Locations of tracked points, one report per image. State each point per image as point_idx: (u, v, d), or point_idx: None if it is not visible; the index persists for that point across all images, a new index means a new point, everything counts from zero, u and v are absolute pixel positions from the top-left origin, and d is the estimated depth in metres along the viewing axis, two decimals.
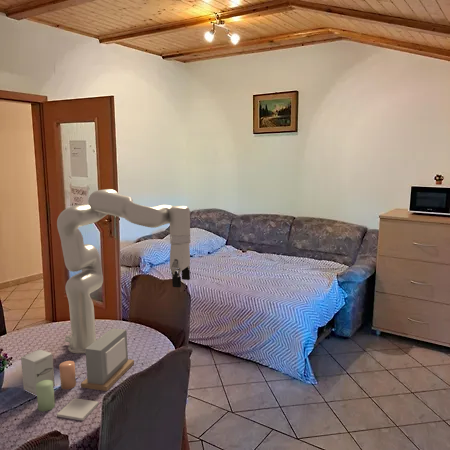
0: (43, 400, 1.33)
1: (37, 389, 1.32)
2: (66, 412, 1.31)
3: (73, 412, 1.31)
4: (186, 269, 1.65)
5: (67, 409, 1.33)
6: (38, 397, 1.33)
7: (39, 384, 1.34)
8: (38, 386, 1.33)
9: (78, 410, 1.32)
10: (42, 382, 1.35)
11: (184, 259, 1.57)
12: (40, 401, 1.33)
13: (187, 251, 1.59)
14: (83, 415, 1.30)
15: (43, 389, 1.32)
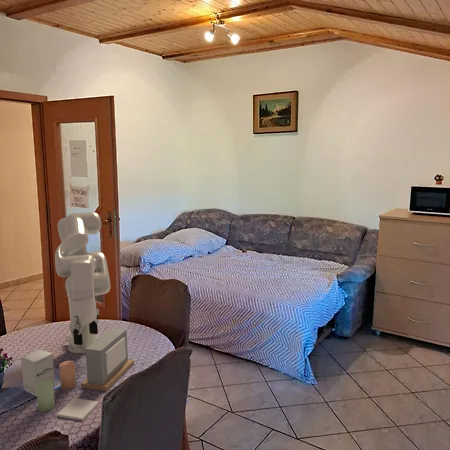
0: (43, 400, 1.33)
1: (37, 389, 1.32)
2: (66, 412, 1.31)
3: (73, 412, 1.31)
4: (93, 323, 1.59)
5: (67, 409, 1.33)
6: (38, 397, 1.33)
7: (39, 384, 1.34)
8: (38, 386, 1.33)
9: (78, 410, 1.32)
10: (42, 382, 1.35)
11: (86, 315, 1.51)
12: (40, 401, 1.33)
13: (91, 306, 1.53)
14: (83, 415, 1.30)
15: (43, 389, 1.32)
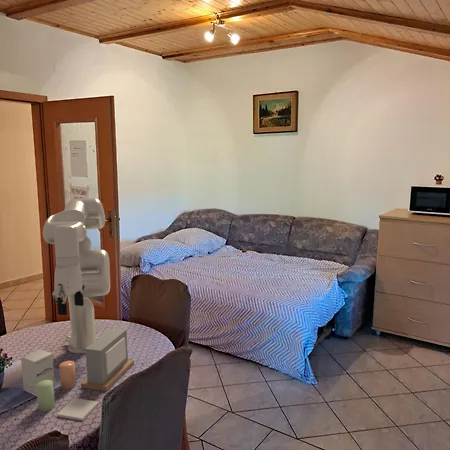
0: (43, 400, 1.33)
1: (37, 389, 1.32)
2: (66, 412, 1.31)
3: (73, 412, 1.31)
4: (79, 294, 1.50)
5: (67, 409, 1.33)
6: (38, 397, 1.33)
7: (39, 384, 1.34)
8: (38, 386, 1.33)
9: (78, 410, 1.32)
10: (42, 382, 1.35)
11: (71, 283, 1.42)
12: (40, 401, 1.33)
13: (76, 274, 1.44)
14: (83, 415, 1.30)
15: (43, 389, 1.32)
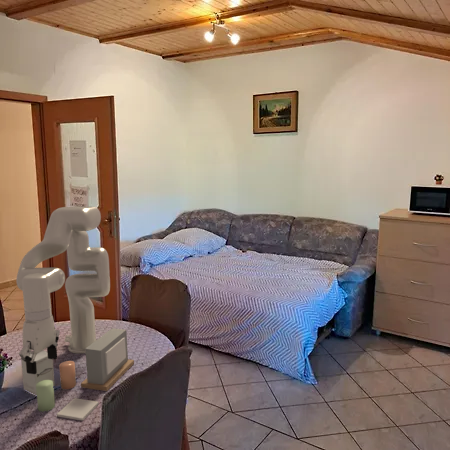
0: (43, 400, 1.33)
1: (37, 389, 1.32)
2: (66, 412, 1.31)
3: (73, 412, 1.31)
4: (52, 347, 1.37)
5: (67, 409, 1.33)
6: (38, 397, 1.33)
7: (39, 384, 1.34)
8: (38, 386, 1.33)
9: (78, 410, 1.32)
10: (42, 382, 1.35)
11: (41, 339, 1.29)
12: (40, 401, 1.33)
13: (47, 328, 1.31)
14: (83, 415, 1.30)
15: (43, 389, 1.32)
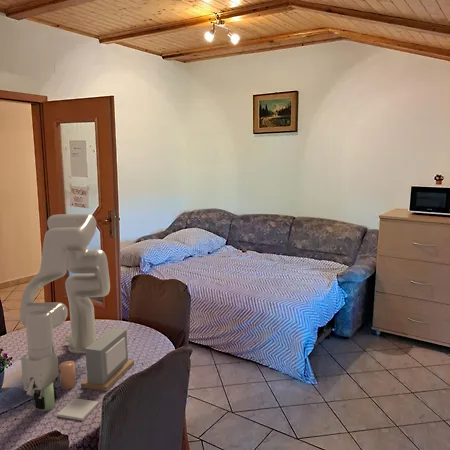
0: None
1: None
2: (66, 412, 1.31)
3: (73, 412, 1.31)
4: None
5: (67, 409, 1.33)
6: None
7: None
8: None
9: (78, 410, 1.32)
10: None
11: (44, 375, 1.31)
12: None
13: (51, 364, 1.33)
14: (83, 415, 1.30)
15: (43, 389, 1.32)
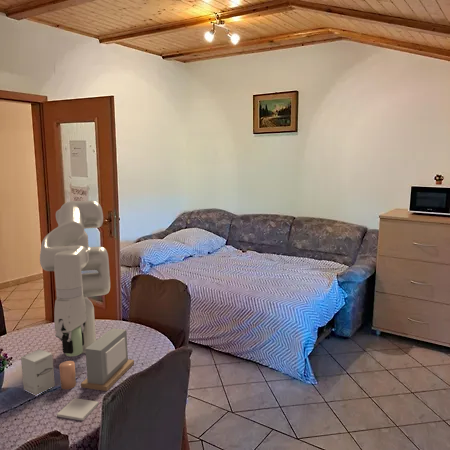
0: None
1: None
2: (66, 412, 1.31)
3: (73, 412, 1.31)
4: None
5: (67, 409, 1.33)
6: None
7: None
8: None
9: (78, 410, 1.32)
10: None
11: (73, 318, 1.26)
12: None
13: (79, 306, 1.28)
14: (83, 415, 1.30)
15: None
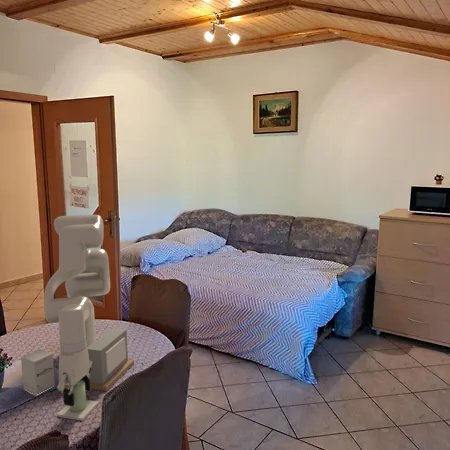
0: (75, 400, 1.31)
1: None
2: (66, 412, 1.31)
3: None
4: (85, 378, 1.36)
5: (67, 409, 1.33)
6: None
7: None
8: None
9: None
10: None
11: (77, 371, 1.29)
12: None
13: (83, 359, 1.31)
14: (83, 415, 1.30)
15: (75, 390, 1.30)
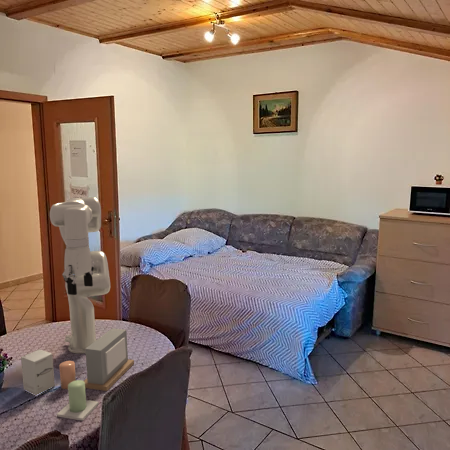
0: (75, 400, 1.31)
1: (70, 389, 1.30)
2: (66, 412, 1.31)
3: None
4: (88, 275, 1.54)
5: (67, 409, 1.33)
6: (70, 398, 1.31)
7: (71, 384, 1.32)
8: (70, 386, 1.31)
9: None
10: (74, 382, 1.33)
11: (80, 264, 1.46)
12: (72, 402, 1.31)
13: (85, 256, 1.48)
14: (83, 415, 1.30)
15: (75, 390, 1.30)
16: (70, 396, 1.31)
